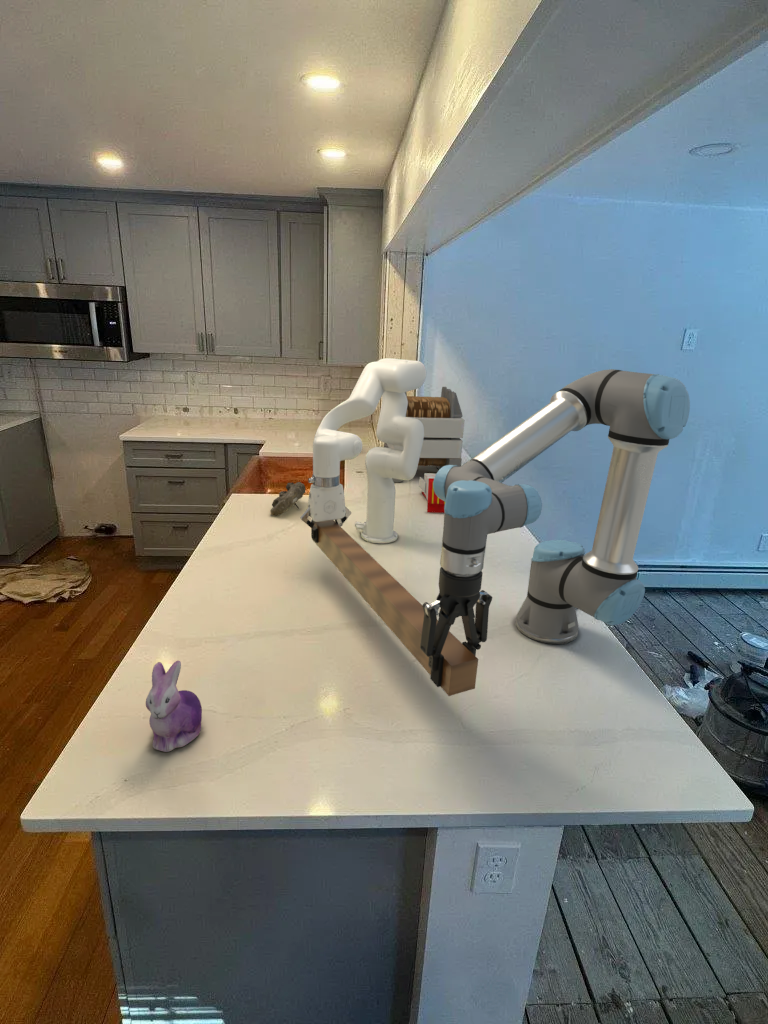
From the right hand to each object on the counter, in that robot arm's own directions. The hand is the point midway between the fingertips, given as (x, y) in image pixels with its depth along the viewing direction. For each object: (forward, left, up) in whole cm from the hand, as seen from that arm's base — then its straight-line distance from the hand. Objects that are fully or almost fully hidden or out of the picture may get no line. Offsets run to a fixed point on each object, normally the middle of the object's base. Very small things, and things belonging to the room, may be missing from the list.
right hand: (450, 678), depth 108 cm
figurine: (+26, -43, -9) cm, 51 cm away
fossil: (-89, -90, -9) cm, 127 cm away
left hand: (-47, -52, +1) cm, 70 cm away
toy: (-125, -43, -9) cm, 132 cm away
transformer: (-163, -63, -9) cm, 175 cm away
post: (-23, -26, 0) cm, 35 cm away
